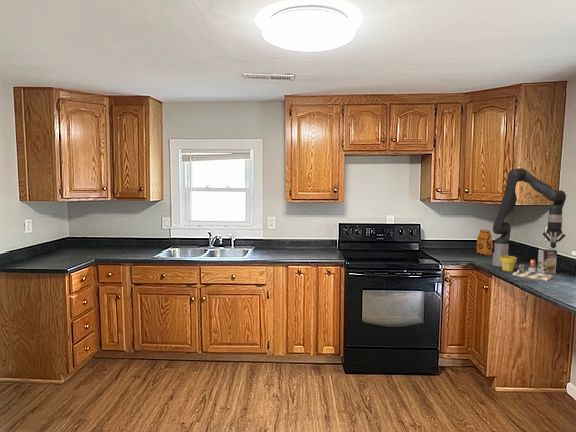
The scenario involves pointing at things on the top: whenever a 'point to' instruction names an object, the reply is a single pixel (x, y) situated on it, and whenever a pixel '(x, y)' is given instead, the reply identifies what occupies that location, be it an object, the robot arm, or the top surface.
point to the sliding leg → (532, 267)
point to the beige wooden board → (534, 275)
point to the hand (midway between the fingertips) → (553, 247)
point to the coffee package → (484, 242)
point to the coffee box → (547, 261)
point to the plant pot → (508, 262)
